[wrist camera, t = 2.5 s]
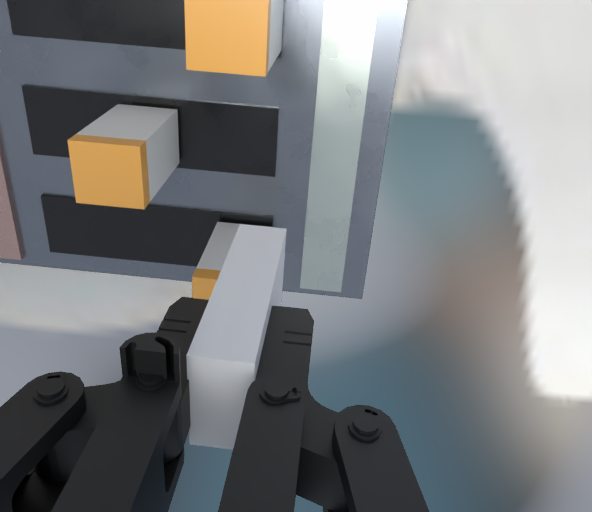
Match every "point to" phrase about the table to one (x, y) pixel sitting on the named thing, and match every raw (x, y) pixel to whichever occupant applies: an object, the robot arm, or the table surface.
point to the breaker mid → (124, 156)
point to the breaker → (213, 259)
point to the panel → (199, 137)
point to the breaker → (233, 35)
